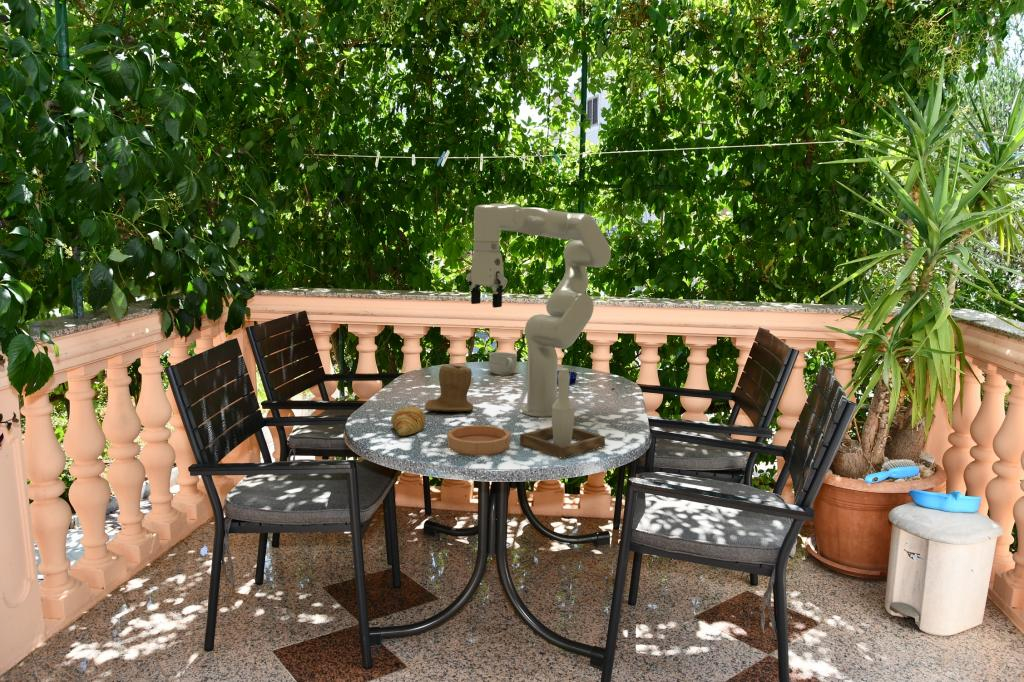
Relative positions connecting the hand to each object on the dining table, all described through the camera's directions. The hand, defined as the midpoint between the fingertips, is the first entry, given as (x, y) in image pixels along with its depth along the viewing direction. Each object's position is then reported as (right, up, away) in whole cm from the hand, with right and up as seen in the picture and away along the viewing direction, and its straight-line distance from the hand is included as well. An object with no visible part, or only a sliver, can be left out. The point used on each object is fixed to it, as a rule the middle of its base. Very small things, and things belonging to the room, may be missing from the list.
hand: (486, 305), depth 257 cm
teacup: (+4, -24, +77) cm, 81 cm away
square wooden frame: (+22, -40, -13) cm, 47 cm away
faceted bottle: (+22, -40, -13) cm, 48 cm away
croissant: (-23, -37, +2) cm, 44 cm away
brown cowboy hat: (-12, -33, +24) cm, 43 cm away
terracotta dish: (-2, -40, -14) cm, 42 cm away
